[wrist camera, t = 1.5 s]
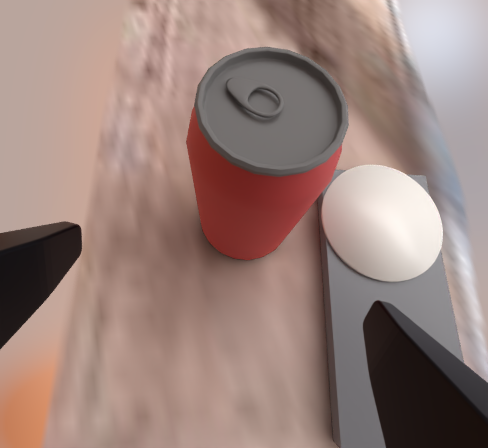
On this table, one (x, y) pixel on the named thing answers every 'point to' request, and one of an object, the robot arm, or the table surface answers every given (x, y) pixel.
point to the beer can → (262, 146)
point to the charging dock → (377, 281)
